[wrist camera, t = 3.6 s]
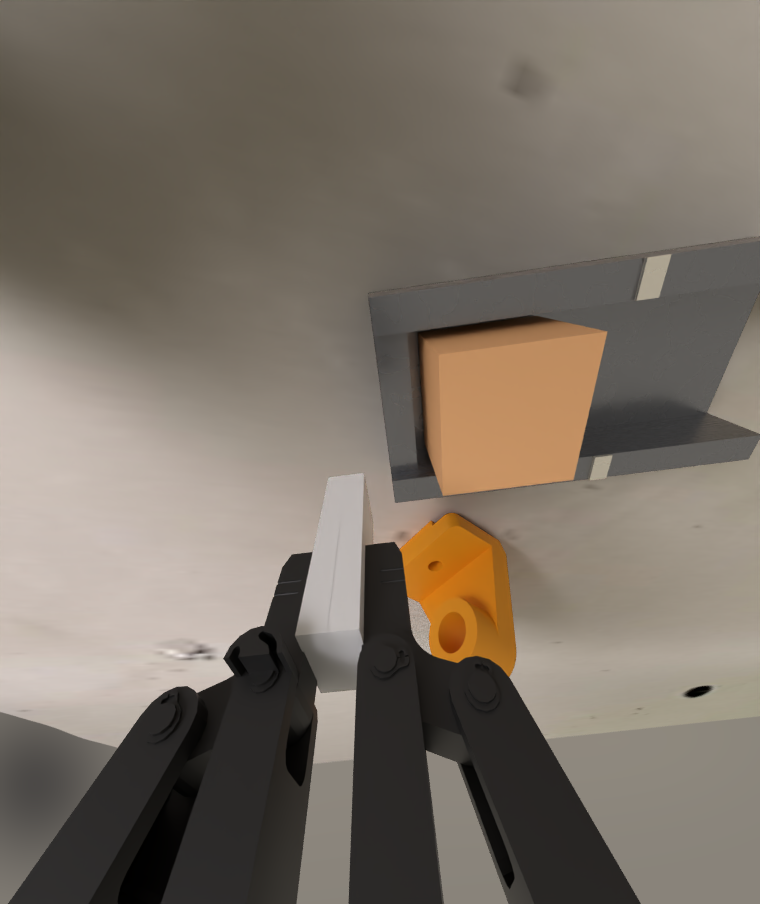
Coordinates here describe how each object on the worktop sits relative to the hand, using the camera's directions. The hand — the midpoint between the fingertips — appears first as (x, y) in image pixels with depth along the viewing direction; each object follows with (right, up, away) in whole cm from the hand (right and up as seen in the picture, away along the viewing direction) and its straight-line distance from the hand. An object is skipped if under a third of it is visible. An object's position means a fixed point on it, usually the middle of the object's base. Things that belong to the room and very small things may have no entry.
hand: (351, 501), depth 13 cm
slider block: (+8, +7, +10) cm, 14 cm away
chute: (+14, +9, +11) cm, 20 cm away
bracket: (+8, -9, +21) cm, 24 cm away
